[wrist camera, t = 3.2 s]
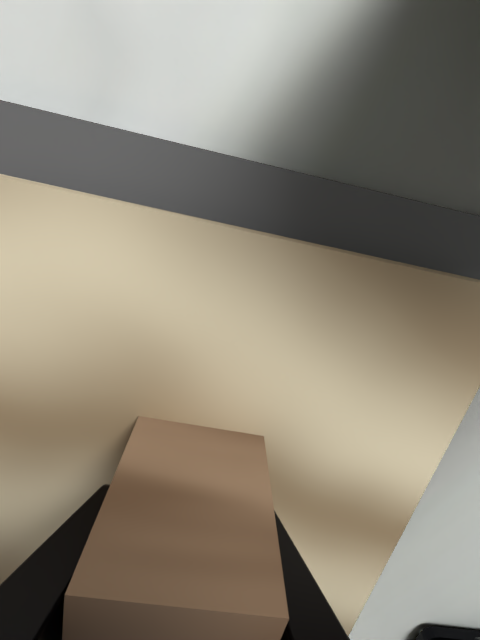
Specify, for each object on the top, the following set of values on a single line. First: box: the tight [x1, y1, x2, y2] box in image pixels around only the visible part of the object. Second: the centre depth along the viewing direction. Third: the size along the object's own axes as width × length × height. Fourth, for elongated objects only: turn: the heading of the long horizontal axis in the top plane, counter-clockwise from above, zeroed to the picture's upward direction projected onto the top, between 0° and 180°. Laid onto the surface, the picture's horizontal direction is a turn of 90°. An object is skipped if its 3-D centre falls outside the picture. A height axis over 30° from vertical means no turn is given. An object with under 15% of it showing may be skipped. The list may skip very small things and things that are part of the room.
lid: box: [0, 174, 480, 640], centre depth 8 cm, size 13×13×5 cm
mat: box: [0, 100, 480, 280], centre depth 11 cm, size 16×16×1 cm
